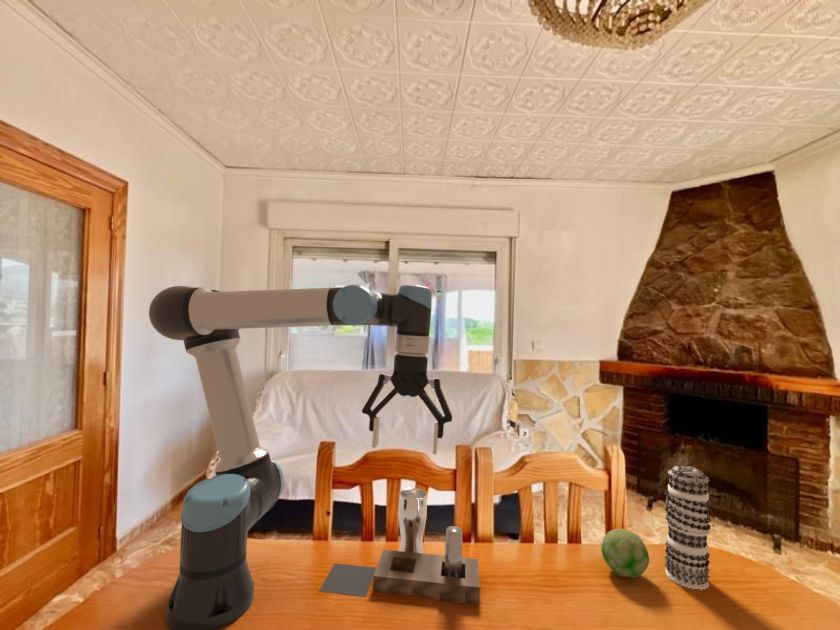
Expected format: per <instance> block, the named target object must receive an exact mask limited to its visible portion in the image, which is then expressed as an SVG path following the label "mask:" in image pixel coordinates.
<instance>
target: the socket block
mask: <svg viewBox="0 0 840 630" xmlns="http://www.w3.org/2000/svg"><path fill="white" fill-rule="evenodd" d="M375 568H376V571H375V573H374V577H373V579H372V582H373V583H372V586H373V587H372V591H373V592H376V593H377V592H378V593H386V594H392V595H394V594H395V595H404V596H412V597H420V598H429V599H439V601H442V602H450V603H451V602H452V603H459V604H468V605H477V606H479V605H480V593H481V592H480V590H481V586H480V569H479V568H480V566H479V558H473V557H472V558H469V557H462V566H461V578H456V577H447V576H444V575H445V555H441V554H432V553H431V554H430V553H424V552H423V553H413V552H403V551H399V550H393V549H392V550H389V549H383V550H382V552H381V554H380V557H379V560H378V563H377V566H376V567H375Z"/></svg>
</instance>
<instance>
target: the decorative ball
mask: <svg viewBox="0 0 840 630" xmlns="http://www.w3.org/2000/svg"><path fill="white" fill-rule="evenodd" d="M601 541H602V542H601V547H600V549H601V553H602V558H603V560H604V562H605V563H606V565H607V566H608V568H609V569H610V570H611V571H612V572H614V573H615V574H616V575H618V576H620V577H621V578H624V579H625V578H627V579H628V578H629V579H636V578H638V577H641V576H643V573H645V571H646V570H647V568H648V566H649V564H650V556H649V552H648V551H649V550H648V548H647V547H646V545H645V543H644V541H643V540H642V538H641V537H640V536H639V535H638V534H636V533H635V532H632V531H631V530H628V529H625V528H614V529H612V530H609V531H608V532H607V533H606V534H605V536H603V538H602V540H601Z"/></svg>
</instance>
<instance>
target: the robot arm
mask: <svg viewBox="0 0 840 630" xmlns="http://www.w3.org/2000/svg"><path fill="white" fill-rule="evenodd" d="M432 297H433V292H432V290H431V289H430V288H429V287H428V286H424V285H416V284H415V285H413V284H408V285H407V284H405V285H404V284H403V285H400V286H399V290H398V292H397V293H388V292H387V293H385V292H377V291H376V292H375V291H373V290H370V288H368V287H366V286H364V285H362V284H348V285H345V286H343V287H341V286H340V287H316V288H315V287H314V288H313V287H309V288H289V289H288V288H285V289H283V288H281V289H259V290H255V289H254V290H234V291H233V290H232V291H220V290H216V289H210V288H208V287H204V286H202V287H191V286H185V285H176V286H170V287H166V288H165V289H162V290H161V291H159V292H158V293H157V294H156V295H155V296H154V297H153V298H152V300H151V302H150V304H149V309H148V318H149V321H150V324H151V326H152V327H153V328H154V329H155V331H156V332H157V333H159V334H160V335H161V336H163V337H164V338H165V337H166V338H167V339H171V340H174V341H183V345H184V348H185V352H186V353H187V354H188V355H191V356H192V357H194V358H195V361H196V362H195V363H196V365H197V369H198V374H199V377H200V381H201V386H202V390H203V395H204V398H205V399H204V400H205V403H206V406H207V410H208V414H209V419H210V422H211V426H212V431H213V435H214V439H215V445H216V447H217V451H218V455H219V461H218V463H217V465H216V466H215V468H214V472H215V475H213V476H212V477H211V478H205V479H203V480H201V481H198V483H195V484H194V485H193V486H192V487H190V488H189V490H188V491H187V493H186V494H185V496H184V497H183V498H184V499H183V503H182V508H181V514H180V520H181V530H180V533H181V534H180V554H179V557H180V558H179V572H178V575H177V579H176V580H175V583H174V586H173V587H172V592H171V593H170V597H169V598H168V601H167V604H166V605H167V606H166V614H165V615H166V616H165V619H166V624H167V627H169V628H170V630H220V629H223V628H224V627H226V626H229V625H230V624H232V623H234V622H235V621H237V620H238V619H240V618H241V617H242V616H244V615H245V613H247V611H248V610H249V609H250V608H251V606H252V604H253V601H254V597H255V583H254V580H253V578H252V574H251V570H250V568H249V565H248V564H249V563H248V561H247V548H248V547H247V546H248V532H249V530H250V529H251V528H252V527H253V526H255V525H256V523H257V522H258V521H259V520H260V519H261V518H262V517H263V516H264V515H265V514H266V513H267V512H269V511H270V510H271V509H272V508H273V507H274V505H276V502H277V501H278V500H279V498H280V496H281V495H282V493H283V489H284V484H285V483H284V482H285V481H284V480H285V479H284V474H283V471H282V468H281V467H280V465H279V464H278V463H277V462H275V461H274V460H273V459H272V458H271V456H270V453H269V449H266V448H265V447H262V446H261V445H260V440H259V437H258V432H257V429H256V425H255V421H254V418H253V413H252V408H251V405H250V400H249V397H248V394H247V389H246V384H245V381H244V378H243V374H242V373H243V372H242V370H241V365H240V361H239V357H238V353H237V346H238V345H239V343H240V341H241V336H240V332H239V330H240V329H245V330H246V329H268V328H269V329H270V328H297V327H299V328H300V327H301V328H302V327H325V326H329V327H330V326H339V327H340V326H377V327H378V326H379V327H380V326H381V327H382V326H383V327H395V328H396V332H395V343H394V344H395V346H394V351H395V352H396V354H395V355H394V361H393V372H392V375H390V374H386V373H385V372H382V373H380V374H378V380H377V384H376V385H375V387H374V389H373V390H372V392H371V394H370V395H369V398H368V399H367V401H366V403H365V404H364V406H363V408H362V410H361V413H362V414H364V415H365V414H366V415H368V417H369V422H368V425H369V426H368V430H369V432H372V441H371V442H372V444H371V446H372V447H371V448H372V449H373V448H375V449H376V448H377V446H378V444H379V438H380V437H379V433H380V424H381V421H380V420H381V416H380V415H377V414H378V413H380V411H381V410H382V409H383V408H384V407H385V406H387V404H389V402H390V401H391V400H392V399H393V398H394V397H395V396H396V395H397V394H398V395H400V396H401V397H407V396H408V397H411V398H415V397H419V398H420V400H421V401H422V402H423V403H424V405H425V406H426V408H427V409H428V410H429V412H430V413H431V414H432V416H433V417H434V418H435V420H436V421H435V422H434V430H433V443H432V455H437V452H438V442H439V439H443V437H444V427H445V424H446V423H451V422H452V421H453V414H452V411H451V409H450V407H449V404H448V401H447V399H446V397H445V395H444V393H443V390H442V388H441V387H442V386H441V379H440V377H435V378H428V362H429V361H428V360H429V358H428V356H426V355H427V354H428V353H429V348H430V347H429V345H430V329H431V320H432V309H433V308H432V305H433V304H432V302H433V301H432V299H433V298H432ZM389 381H390V382H391V384H392V385H393V387H394V388H393V389H392V390H391V391H390V392H389V393H388V394H387V395H386V396H385V397H384V398H383V399H382V400H381V401H380V402H379V403H378V404H377V405H376V406H375V407H374V409H373V408H372V406H373V405H374V403H375V401H376V400H377V398H378V397H379V395H380V393H381V392H382V390H383V389H384V386H385V385H386V384H388V382H389ZM428 385H430V387H431V389H434V392H435V395H436V397H437V400H438V403H439V405H440V407H441V409H442V410H441V411H442V412H443V414H444V416H443V414H442V412H441V411H440V410H439V409H438V408H437V406H436V404H434V402H433V400H432V399H431V397H430V396H429V395H428V392H427V391H426V390H425V388H426V387H427V386H428Z"/></svg>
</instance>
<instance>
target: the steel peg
mask: <svg viewBox="0 0 840 630" xmlns="http://www.w3.org/2000/svg"><path fill="white" fill-rule="evenodd" d="M463 534H464V531H463V529H462V528H461V526H460V527H459V526H455V525H449V526H448V527H446V529H445V551H444V553H445V555H444V556H445V575H444V576H447V577H456V578H461V566H462V558H463V557H462V556H463Z"/></svg>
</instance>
